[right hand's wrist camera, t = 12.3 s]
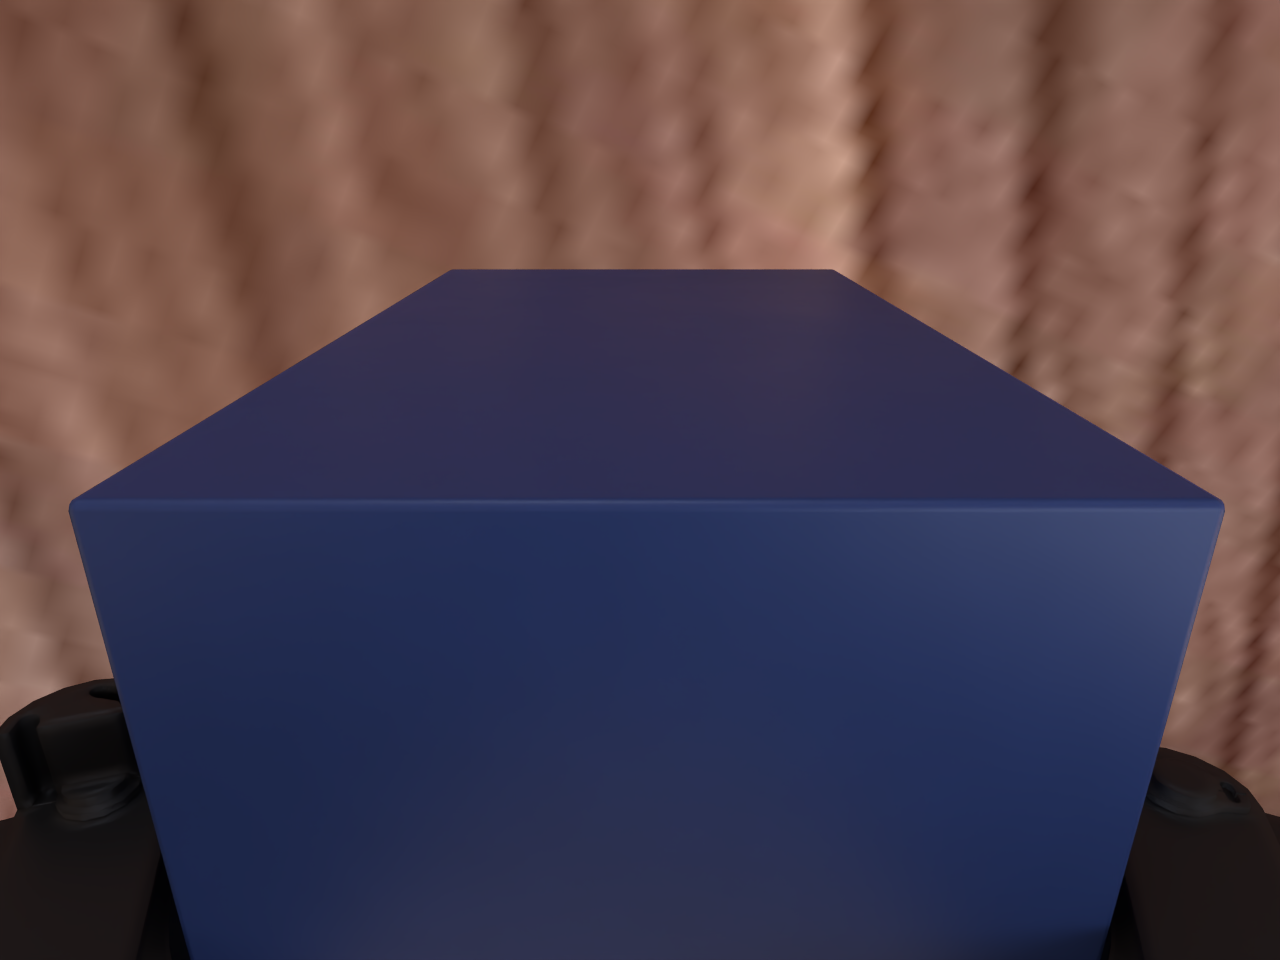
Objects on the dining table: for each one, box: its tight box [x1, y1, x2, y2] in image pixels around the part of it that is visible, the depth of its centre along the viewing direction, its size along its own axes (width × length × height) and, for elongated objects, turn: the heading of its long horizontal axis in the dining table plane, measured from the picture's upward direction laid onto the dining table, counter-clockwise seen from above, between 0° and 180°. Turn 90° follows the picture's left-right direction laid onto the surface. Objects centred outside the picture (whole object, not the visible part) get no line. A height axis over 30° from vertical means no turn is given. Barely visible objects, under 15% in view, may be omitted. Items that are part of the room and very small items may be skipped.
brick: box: [69, 270, 1225, 960], centre depth 11 cm, size 9×7×10 cm
